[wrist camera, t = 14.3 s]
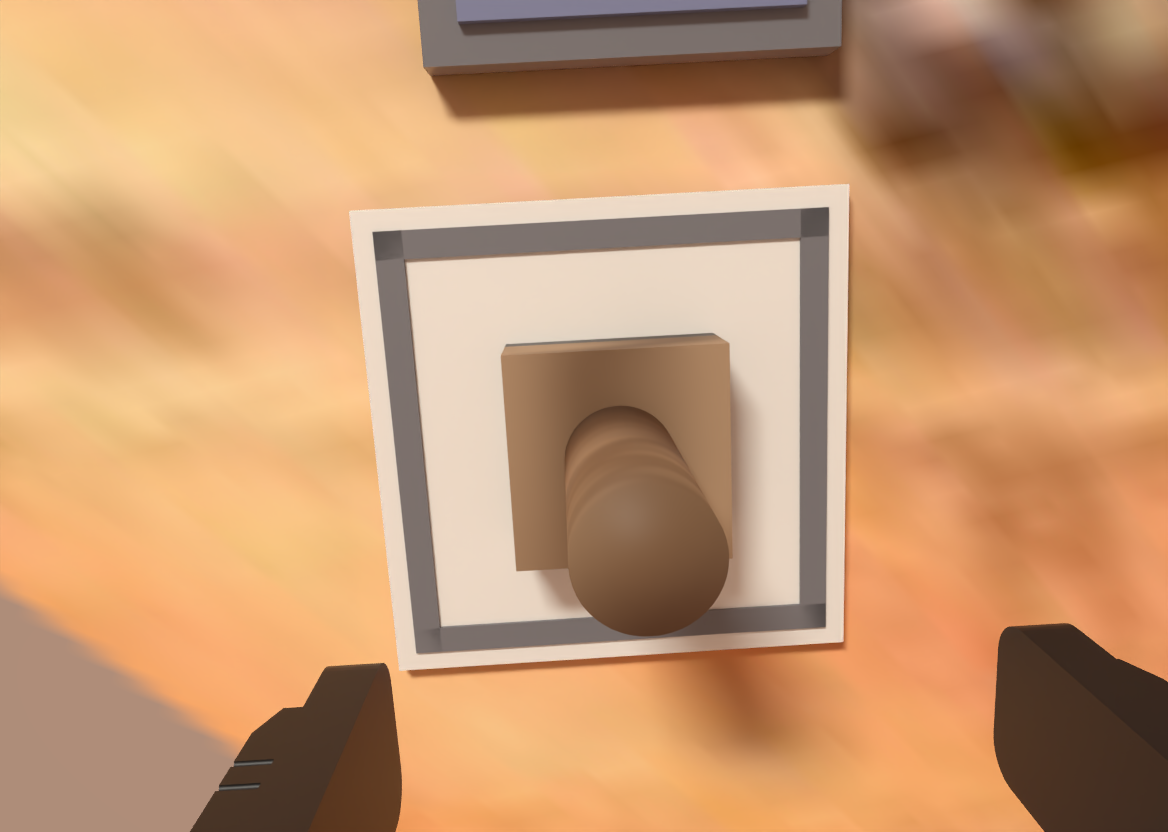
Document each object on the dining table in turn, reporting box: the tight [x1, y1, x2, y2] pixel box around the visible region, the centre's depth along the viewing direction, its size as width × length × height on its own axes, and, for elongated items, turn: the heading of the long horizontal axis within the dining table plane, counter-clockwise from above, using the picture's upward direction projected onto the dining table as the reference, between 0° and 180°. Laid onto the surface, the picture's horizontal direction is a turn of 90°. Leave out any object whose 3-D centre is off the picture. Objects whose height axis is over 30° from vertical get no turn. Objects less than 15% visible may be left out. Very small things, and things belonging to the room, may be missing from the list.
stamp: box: [501, 333, 733, 636], centre depth 20 cm, size 6×6×10 cm
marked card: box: [349, 184, 849, 671], centre depth 25 cm, size 14×14×1 cm
